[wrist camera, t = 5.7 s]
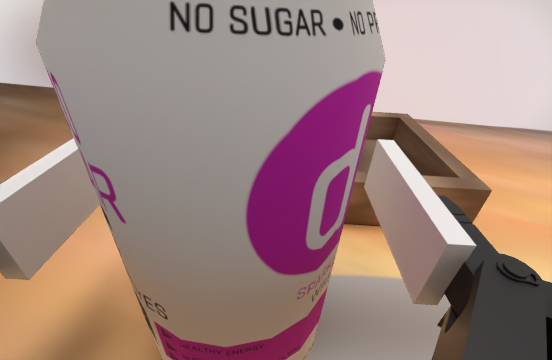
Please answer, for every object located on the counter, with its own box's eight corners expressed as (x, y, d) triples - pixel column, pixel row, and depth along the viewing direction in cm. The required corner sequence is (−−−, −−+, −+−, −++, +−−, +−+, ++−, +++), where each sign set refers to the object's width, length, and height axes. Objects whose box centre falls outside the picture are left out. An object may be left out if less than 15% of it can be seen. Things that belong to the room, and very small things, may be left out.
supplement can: (340, 305, 15) (442, -14, 7) (241, 468, 10) (188, -127, 2) (239, 238, 19) (230, -17, 11) (127, 327, 14) (-56, -53, 6)
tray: (267, 218, 21) (269, 176, 19) (274, 136, 35) (276, 106, 32) (467, 231, 21) (492, 190, 19) (397, 143, 35) (407, 113, 32)
